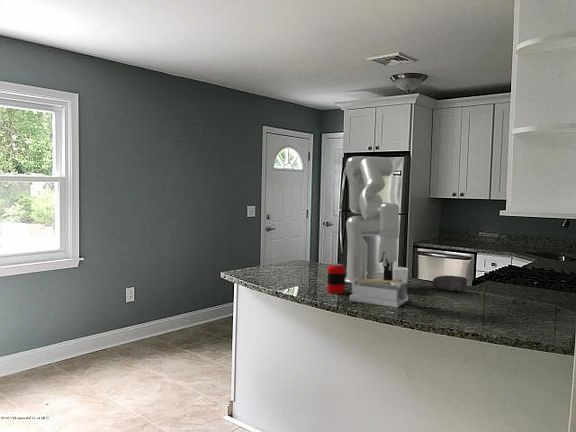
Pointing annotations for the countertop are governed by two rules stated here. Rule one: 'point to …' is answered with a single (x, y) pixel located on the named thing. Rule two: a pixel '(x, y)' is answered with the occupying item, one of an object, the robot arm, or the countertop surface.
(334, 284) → the soda can
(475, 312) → the countertop surface
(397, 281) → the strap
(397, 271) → the white cup
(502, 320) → the countertop surface
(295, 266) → the countertop surface
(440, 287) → the perforated stone tool
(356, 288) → the heatsink
